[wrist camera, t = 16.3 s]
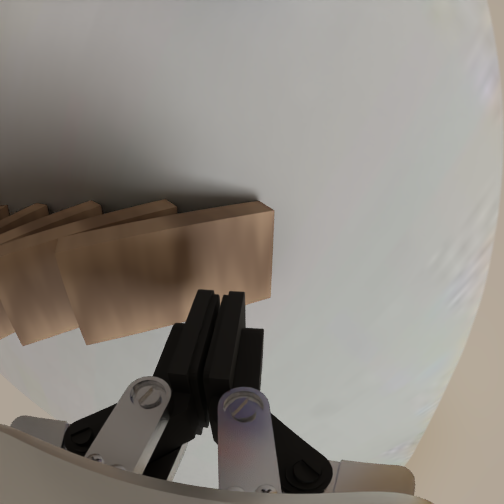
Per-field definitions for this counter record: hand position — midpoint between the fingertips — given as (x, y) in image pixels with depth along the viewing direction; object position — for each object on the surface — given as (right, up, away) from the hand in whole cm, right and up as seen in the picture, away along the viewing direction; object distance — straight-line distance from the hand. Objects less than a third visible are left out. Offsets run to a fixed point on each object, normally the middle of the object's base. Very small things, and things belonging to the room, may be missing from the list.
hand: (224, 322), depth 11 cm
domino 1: (+2, +3, +5) cm, 6 cm away
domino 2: (-3, +3, +6) cm, 7 cm away
